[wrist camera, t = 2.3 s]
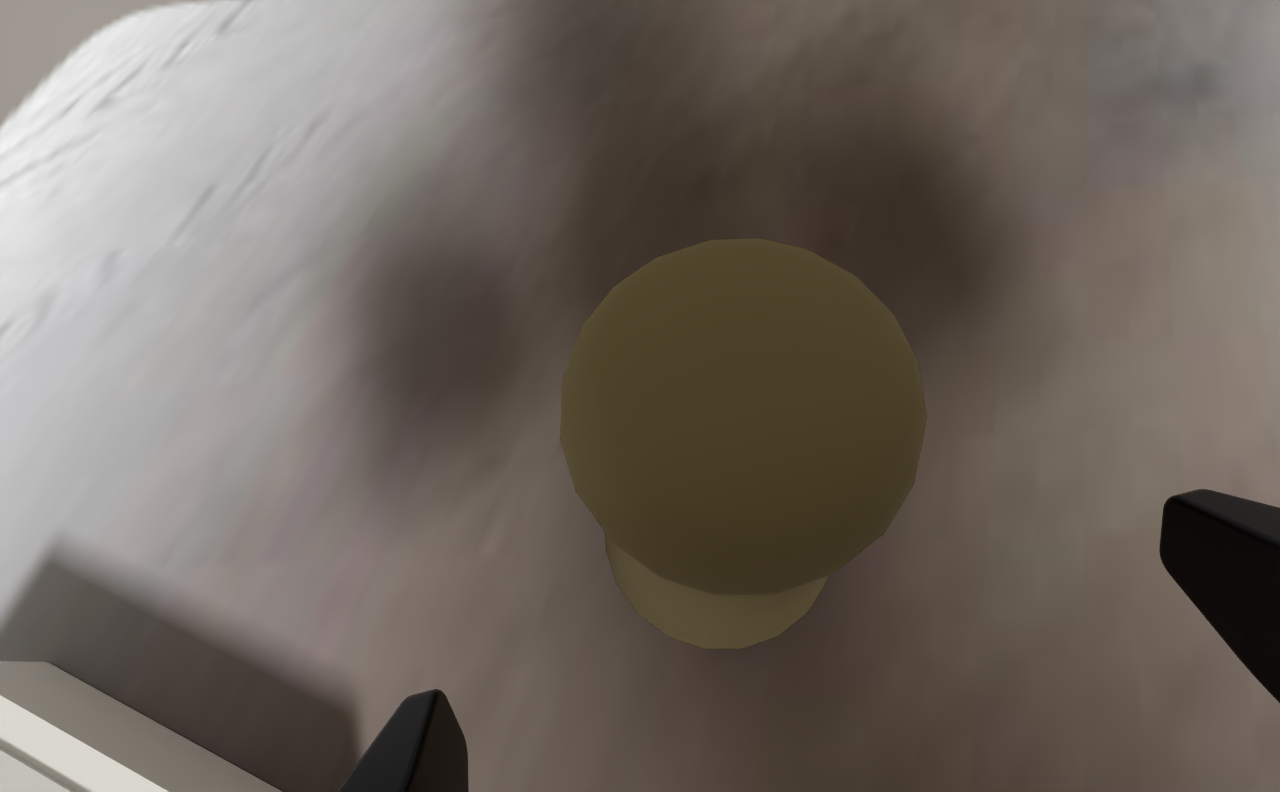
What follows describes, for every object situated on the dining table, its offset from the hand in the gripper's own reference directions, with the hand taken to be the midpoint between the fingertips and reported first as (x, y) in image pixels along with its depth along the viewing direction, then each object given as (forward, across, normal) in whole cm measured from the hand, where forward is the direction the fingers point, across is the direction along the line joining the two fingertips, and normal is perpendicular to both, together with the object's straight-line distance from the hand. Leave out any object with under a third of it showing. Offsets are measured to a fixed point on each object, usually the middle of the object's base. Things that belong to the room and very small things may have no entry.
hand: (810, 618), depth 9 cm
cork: (+9, 0, +5) cm, 11 cm away
